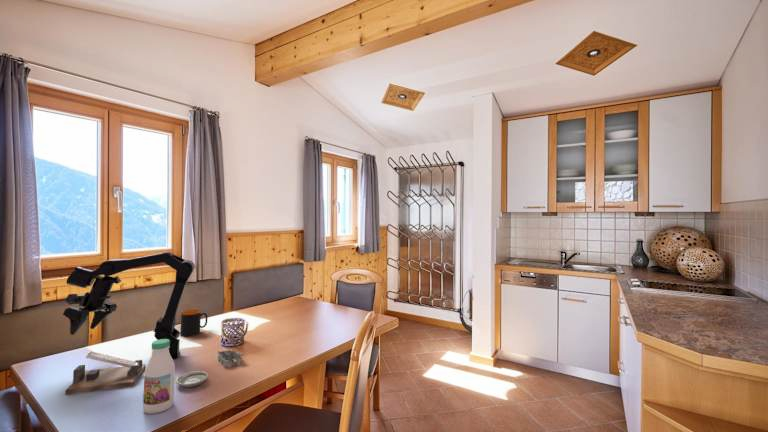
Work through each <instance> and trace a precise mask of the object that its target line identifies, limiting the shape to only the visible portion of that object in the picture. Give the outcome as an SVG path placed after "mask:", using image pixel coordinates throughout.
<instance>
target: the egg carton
mask: <svg viewBox="0 0 768 432" xmlns="http://www.w3.org/2000/svg"><path fill="white" fill-rule="evenodd" d="M216 354H217V362H220V365H223V368H232V366H236V365H237V366H240V365H241V363H242V362H243V357H242V356H244V354H243V352H239V351H236V350H235V349H232V350H230V349H228V350H226V349H225V350H222V351H217V353H216Z"/></svg>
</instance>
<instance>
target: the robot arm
mask: <svg viewBox="0 0 768 432" xmlns="http://www.w3.org/2000/svg"><path fill="white" fill-rule="evenodd" d="M162 263H165V265H167V266H168V267H170V268H172V269H173V270H175V284H174V286H173V289H172V292H171V295H170V298H169V300H168V303H167V307H166V310H165V313H164V315H163V317H161V316H160V317H159V318H158V319H157V321H156V323H155V327H154V330H153V333H154V338H155V339H156V340H160V339H169V340H170V347H169V353H170V355H171V357H172V359H173V360H174V359H175V360H176V359H178V357H179V355H180V353H181V351H180V342H181V341H180V337H179V336H181V335H180V330H178V329H177V328H176V327H175V326H176V316H177V311H178V309H179V306H180V303H181V301H182V297H183V295H184V291H185V287H186V285H187V283H188V281H189V279H191V276H192V274H193V273H194V270H195V268H196V266H195V263H194V261H192V260H188V259H187V260H186V259H185V258H183V257H180V256H179V255H175V254H174V253H172V252H171V251H164V252H161V253H155V254H149V255H145V256H139V257H133V258H112V259H108V260H104V261H103V262H101V264H99V267H98V268H95V269H93V270H92V269H88V268H84V267H81V266H76V267H74V270H73V271H72V272H71V273H70V275H68V276H67V279H66V284H67V285H70V286H73V287H79V288H82V289H86V288H88V287H91V288H90V291H87V292H85V293H84V294H77V293H69V294H68V295H67V296H66V298H65V302H66V303H67V304H68V305H69V306H70V307H66V308H64V310H63V313H62V316H64V317H66V318H68V320H69V327H70V328H69V334H70V335H71V336H74V335H75V334H76V333H77V332H78V330H79V329H80V328H81V327H82V326H83V325H84V323H86V321H87V320H88V318H87V317H89V315H90V313H93V318H92V320H91V323H90V329H91V330H93V329H95V328H96V327H97V326H98V325H99V324H101V323H102V322H103V321H104V320H105V319H107V317H108V316H110V315H112V313H113V312H115V311H116V310H117V307H118V306H117V304H116V303H115V302H111V301H109V300H108V299H110V298H111V295H110V292H111V290H112V288H113V287H114V286H113V285H114V284H116V285H119V283H121V282H122V280H121V278H120V277H119V275H117V274H119V273H122V272H125V271H128V270H130V269H135V268H140V267H147V266H151V265H156V264H162ZM114 275H117V276H114ZM71 305H73V306H71ZM74 305H75V306H74Z"/></svg>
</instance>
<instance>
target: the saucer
mask: <svg viewBox="0 0 768 432" xmlns="http://www.w3.org/2000/svg"><path fill="white" fill-rule="evenodd" d="M208 377H209V373H208V372H206V371H202V370H196V371H195V370H194V371H188V372H185V373H182V374H181V375H180V376H178V377H176V379H175V383H176V384H177V385H179V386H180V387H184V388H193V387H197V386H199V385H200V384H203V382H205V381H206V379H208Z"/></svg>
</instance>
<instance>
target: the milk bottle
mask: <svg viewBox="0 0 768 432" xmlns="http://www.w3.org/2000/svg"><path fill="white" fill-rule="evenodd" d="M169 347H170V340H169V339H160V340H157V339H156V340H153V341H152V343H151V352H152V353H151V356H150V357H149V360H148V362H147V363H146V368H145V370H144V374H143V375H144V378H143V396H142V397H143V398H142V399H143V401H142V411H143V412H144V413H145V414H148V415H149V414H150V415H154V414H160V413H162V412H163V413H164V412H165V411H168V410H169V409H171V408H172V406H173V405H174V404H175V403H174V401H175V400H174V398H175V380H176V379H175V377H176V375H175V374H176V373H175V370H176V369H175V367H176V366H175V362H174V359H172V357H171V355H170V353H169Z"/></svg>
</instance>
